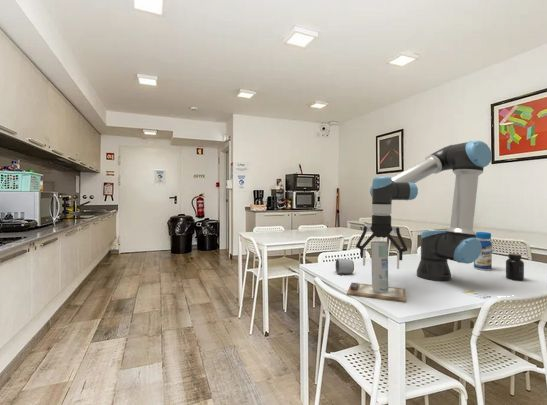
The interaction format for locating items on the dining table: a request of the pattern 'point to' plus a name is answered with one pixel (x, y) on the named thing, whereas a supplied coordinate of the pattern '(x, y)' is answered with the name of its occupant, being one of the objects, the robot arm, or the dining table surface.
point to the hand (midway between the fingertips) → (380, 266)
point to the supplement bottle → (515, 267)
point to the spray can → (379, 266)
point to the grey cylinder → (344, 266)
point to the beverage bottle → (484, 252)
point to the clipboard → (368, 292)
